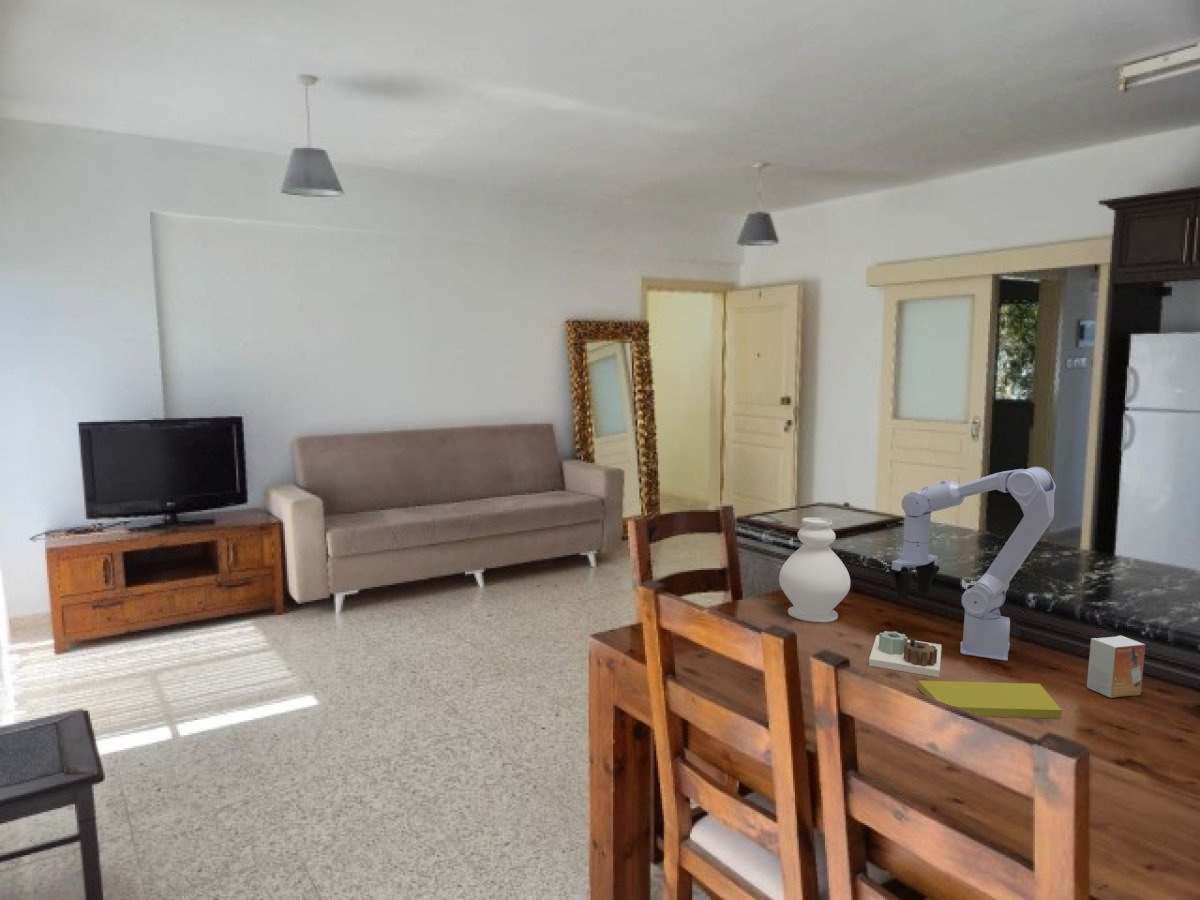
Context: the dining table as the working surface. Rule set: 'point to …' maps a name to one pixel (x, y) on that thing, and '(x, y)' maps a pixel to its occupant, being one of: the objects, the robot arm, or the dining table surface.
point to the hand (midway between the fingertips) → (913, 595)
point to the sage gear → (892, 643)
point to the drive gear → (920, 653)
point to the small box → (1116, 666)
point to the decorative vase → (814, 574)
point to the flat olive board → (994, 698)
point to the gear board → (903, 660)
